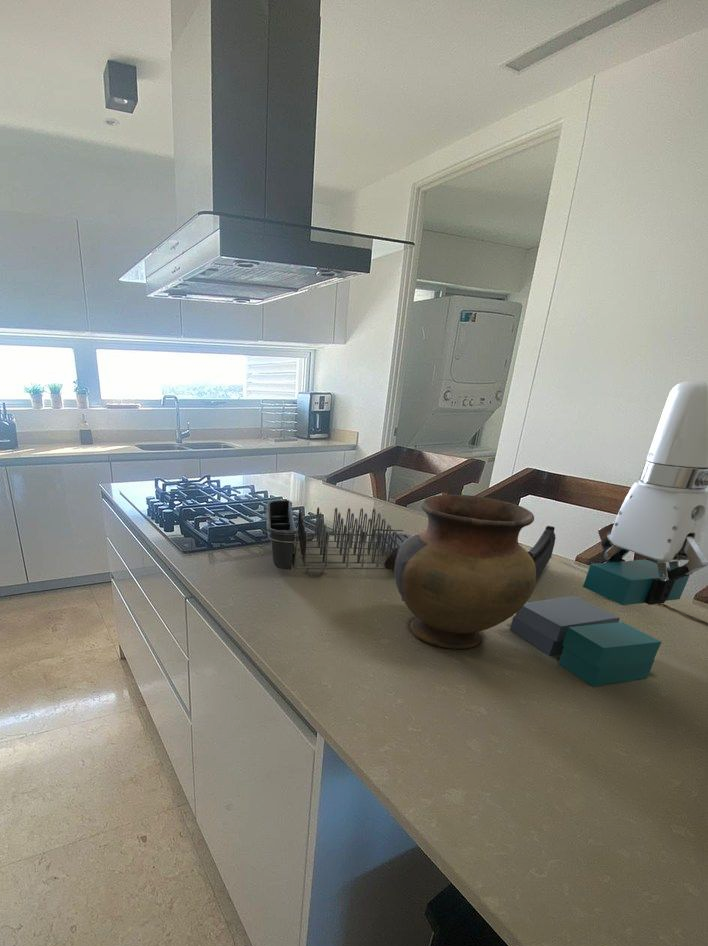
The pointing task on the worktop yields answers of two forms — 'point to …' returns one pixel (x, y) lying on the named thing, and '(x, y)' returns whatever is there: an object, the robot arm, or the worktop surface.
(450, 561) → the pot
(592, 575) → the teal block
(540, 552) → the magazine
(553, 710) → the worktop surface
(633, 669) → the teal stack
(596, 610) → the grey stack
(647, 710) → the worktop surface
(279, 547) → the dish rack
